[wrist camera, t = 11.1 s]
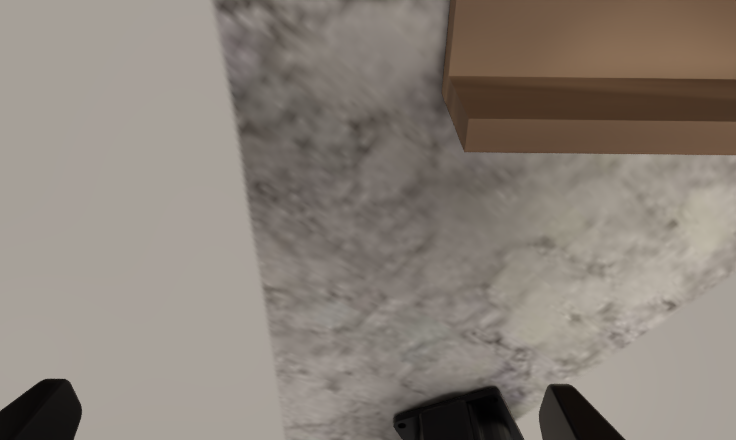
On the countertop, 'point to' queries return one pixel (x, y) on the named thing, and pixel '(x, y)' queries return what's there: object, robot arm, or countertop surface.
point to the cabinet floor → (592, 76)
